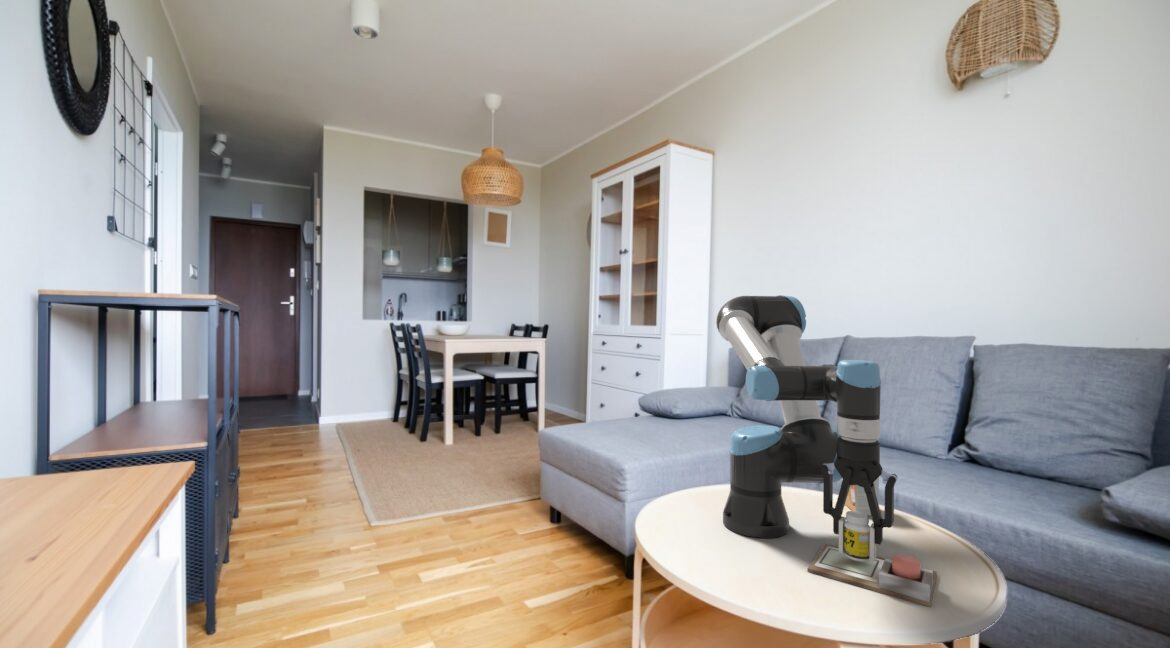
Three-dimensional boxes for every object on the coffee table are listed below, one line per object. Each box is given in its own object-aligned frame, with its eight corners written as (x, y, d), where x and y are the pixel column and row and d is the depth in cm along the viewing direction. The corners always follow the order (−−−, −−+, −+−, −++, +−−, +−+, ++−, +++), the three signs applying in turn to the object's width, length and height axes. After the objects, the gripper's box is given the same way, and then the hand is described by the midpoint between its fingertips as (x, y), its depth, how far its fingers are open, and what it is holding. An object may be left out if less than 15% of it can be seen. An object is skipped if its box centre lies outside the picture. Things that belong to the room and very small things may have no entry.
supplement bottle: (838, 551, 103) (838, 510, 103) (861, 550, 103) (861, 509, 103) (853, 562, 98) (853, 519, 98) (876, 561, 98) (876, 518, 98)
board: (807, 571, 99) (807, 555, 99) (825, 546, 110) (825, 531, 110) (930, 607, 87) (930, 588, 87) (936, 575, 98) (936, 558, 98)
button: (890, 577, 92) (890, 560, 92) (893, 567, 96) (893, 552, 96) (919, 584, 89) (919, 567, 89) (921, 575, 93) (921, 558, 93)
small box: (843, 504, 136) (843, 465, 136) (865, 505, 135) (866, 465, 135) (855, 515, 128) (855, 473, 128) (879, 516, 127) (879, 474, 127)
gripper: (805, 435, 103) (804, 548, 104) (908, 449, 92) (907, 576, 92) (815, 428, 109) (814, 536, 109) (913, 441, 98) (912, 561, 98)
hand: (857, 554), depth 101 cm, fingers closed on supplement bottle, 5 cm apart
